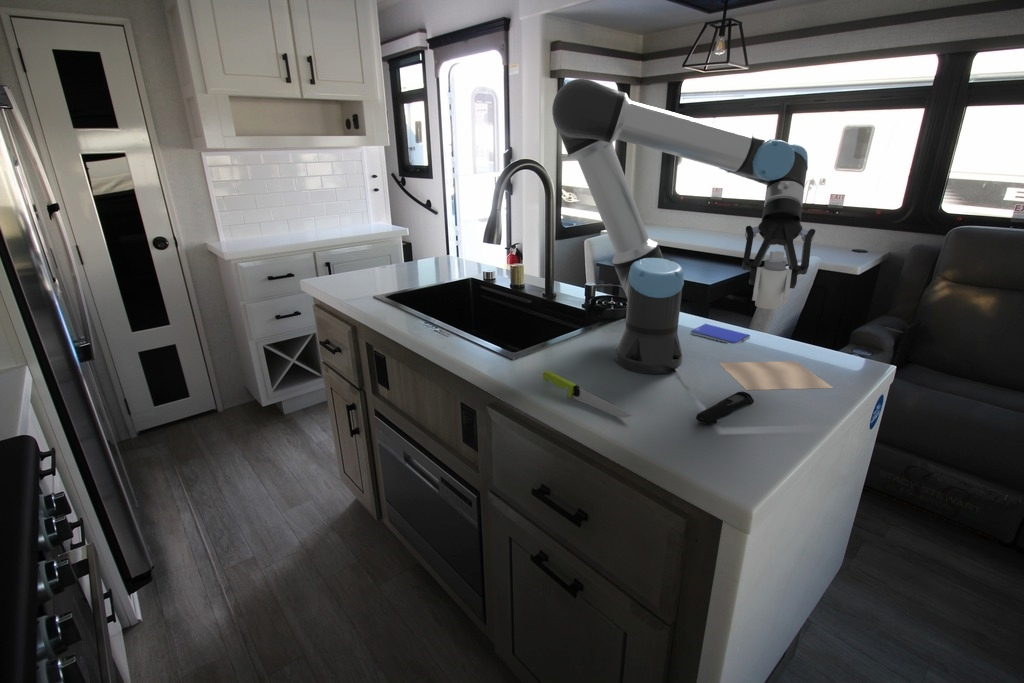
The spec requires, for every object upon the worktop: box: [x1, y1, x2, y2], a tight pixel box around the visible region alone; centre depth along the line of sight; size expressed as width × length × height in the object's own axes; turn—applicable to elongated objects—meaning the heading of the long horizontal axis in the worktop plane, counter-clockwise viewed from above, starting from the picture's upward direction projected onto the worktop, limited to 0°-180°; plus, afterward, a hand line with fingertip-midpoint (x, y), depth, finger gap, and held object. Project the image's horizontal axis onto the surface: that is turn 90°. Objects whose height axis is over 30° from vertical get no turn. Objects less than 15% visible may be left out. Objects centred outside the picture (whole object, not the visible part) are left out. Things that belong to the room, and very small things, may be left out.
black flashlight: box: [695, 390, 755, 425], centre depth 96 cm, size 4×16×3 cm, turn 125°
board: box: [718, 360, 834, 391], centre depth 111 cm, size 18×14×1 cm
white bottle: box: [754, 250, 789, 310], centre depth 106 cm, size 5×5×12 cm
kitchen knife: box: [542, 370, 633, 419], centre depth 101 cm, size 22×1×3 cm, turn 43°
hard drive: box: [690, 323, 751, 345], centre depth 136 cm, size 2×8×12 cm
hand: (769, 298), depth 104 cm, fingers closed on white bottle, 5 cm apart
